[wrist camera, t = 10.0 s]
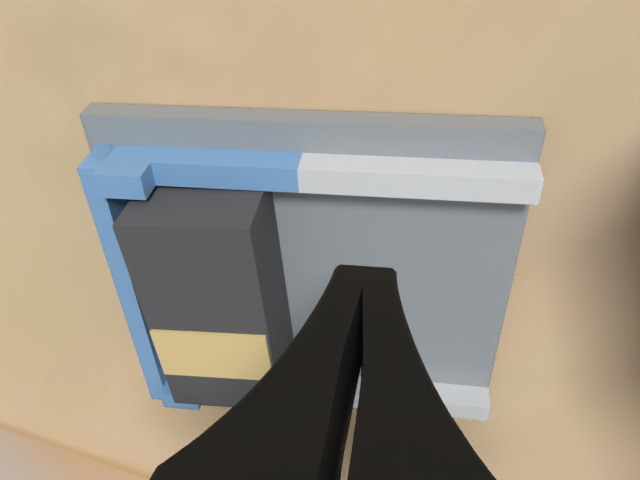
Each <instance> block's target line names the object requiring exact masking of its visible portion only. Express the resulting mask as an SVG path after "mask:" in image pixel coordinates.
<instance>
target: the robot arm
mask: <svg viewBox="0 0 640 480" xmlns="http://www.w3.org/2000/svg"><path fill="white" fill-rule="evenodd" d="M360 369H361V384H360V392H359V400H358V408H357V416H356V423H355V431H354V438H353V445H352V452H351V459H350V466H349V473H348V479H347V480H496V479H495V477H494V476H493V475H492V474H491V472H490V471H489V470H488V468H487V467H486V466H485V464H484V463H483V462H482V460H481V459H480V458H479V456H478V455H477V454H476V452H475V451H474V449H473V448H472V446H471V445H470V443H469V442H468V440H467V439H466V437H465V436H464V434H463V433H462V431H461V430H460V428H459V427H458V425H457V424H456V422H455V421H454V419H453V418H452V416H451V414H450V413H449V411H448V409H447V408H446V406H445V404H444V403H443V401H442V399H441V397H440V395H439V393H438V392H437V390H436V388H435V386H434V384H433V382H432V380H431V378H430V376H429V374H428V372H427V370H426V368H425V366H424V363H423V361H422V359H421V357H420V354H419V352H418V350H417V347H416V345H415V342H414V340H413V337H412V334H411V331H410V329H409V326H408V323H407V320H406V317H405V314H404V311H403V307H402V303H401V299H400V295H399V290H398V285H397V272H396V271H395V270H394V269H393V268H387V267H372V266H356V265H341V264H340V265H338V266H337V267H336V268H335V269H334V272H333V274H332V277H331V279H330V281H329V283H328V285H327V287H326V289H325V291H324V293H323V294H322V296H321V298H320V300H319V301H318V303H317V305H316V306H315V308H314V310H313V311H312V313H311V314H310V316H309V317H308V319H307V321H306V322H305V324H304V325H303V327H302V328H301V330H300V331H299V332H298V334H297V335H296V336H295V338H294V339H293V340H292V342H291V343H290V344H289V346H288V347H287V349H286V350H285V351H284V352H283V354H282V355H281V356H280V357H279V359H278V360H277V361H276V362H275V364H274V365H273V366H272V367H271V368H270V369H269V370H268V372H267V373H266V374H265V375H264V376H263V377H262V378H261V379H260V381H259V382H258V383H257V384H256V385H255V386H254V387H253V388H252V389H251V390H250V391H249V392H248V393H247V394H246V395H245V396H244V397H243V398H242V399H241V400H240V401H239V402H238V403H237V404H236V405H235V406H234V407H233V408H231V409H230V410H229V411H228V412H227V413H226V414H225V415H223V416H222V417H221V418H220V419H219V420H218V421H216V422H215V423H214V424H213V425H212V426H211V427H209V428H208V429H207V430H206V431H205V432H204V433H202V434H201V435H200V436H199V437H197V438H196V439H195V440H193V441H192V442H191V443H189V444H188V445H187V446H185V447H184V448H182V449H181V450H180V451H178V452H177V453H176V454H174V455H173V456H171V457H170V458H169V459H167V460H166V461H165V462H163V463H162V464H160V465H159V466H158V467H157V468H156V470H155V471H154V473H153V474H152V476H151V478H150V480H340V478H341V468H342V462H343V455H344V449H345V444H346V439H347V434H348V429H349V424H350V419H351V414H352V409H353V404H354V399H355V394H356V389H357V384H358V379H359V374H360Z"/></svg>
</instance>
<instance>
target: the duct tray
mask: <svg viewBox="0 0 640 480" xmlns="http://www.w3.org/2000/svg"><path fill="white" fill-rule="evenodd" d="M79 115H80V118H81V122H82V125H83V128H84V132H85V135H86V138H87V141H88V145H89V148H90V151H91V152H90V154H89V155H88V156H87V157H86V158H85V159H84V160H83V161H82V163H81V164H80V165H79V166H78V167H77V170H78V173H79V176H80V179H81V182H82V185H83V189H84V192H85V195H86V198H87V201H88V204H89V207H90V210H91V213H92V216H93V219H94V222H95V226H96V229H97V232H98V235H99V238H100V241H101V244H102V247H103V250H104V253H105V256H106V259H107V262H108V266H109V269H110V272H111V275H112V278H113V281H114V284H115V287H116V290H117V293H118V296H119V299H120V302H121V306H122V309H123V312H124V315H125V318H126V321H127V324H128V327H129V330H130V333H131V336H132V339H133V342H134V346H135V349H136V352H137V355H138V358H139V361H140V364H141V367H142V370H143V373H144V376H145V379H146V382H147V386H148V389H149V392H150V395H151V398H152V399H159V400H162V401H163V404H164V407H171V408H181V409H191V410H199V409H200V406H201V405H196V404H181V403H175V402H174V400H173V397H172V394H171V391H170V388H169V385H168V383H167V380H166V377H165V374H164V372H163V369H162V366H161V363H160V360H159V358H158V355H157V352H156V349H155V346H154V344H153V341H152V338H151V335H150V332H149V329H148V326H147V323H146V320H145V318H144V315H143V312H142V309H141V306H140V304H139V301H138V298H137V295H136V292H135V289H134V287H133V284H132V281H131V278H130V275H129V272H128V270H127V267H126V264H125V261H124V258H123V256H122V253H121V250H120V247H119V244H118V241H117V239H116V236H115V233H114V230H113V227H112V225H113V224H114V222H115V221H116V220H117V218H118V217H119V215H120V214H121V212H122V211H123V209H124V208H125V207H126V205H127V204H128V202H129V201H130V199H131V200H147V198H148V197H149V195H150V194H151V192H152V191H153V189H154V188H155V186H173V187H193V188H212V189H232V190H252V191H272V193H273V200H274V206H275V213H276V220H277V227H278V234H279V241H280V248H281V255H282V262H283V269H284V275H285V282H286V289H287V296H288V303H289V310H290V317H291V324H292V331H293V338H295V336H296V335H297V334H298V332H299V331H300V330H301V328H302V327H303V325H304V324H305V322H306V321H307V319H308V317H309V316H310V314H311V313H312V311H313V310H314V308H315V306H316V305H317V303H318V301H319V300H320V298H321V296H322V294H323V293H324V291H325V289H326V287H327V285H328V283H329V281H330V279H331V277H332V274H333V272H334V269H335V268H336V267H337V266H338V265H340V264H341V265H356V266H372V267H387V268H393V269H394V270H395V271H396V272H397V285H398V290H399V295H400V299H401V303H402V307H403V311H404V314H405V317H406V320H407V323H408V326H409V329H410V331H411V334H412V337H413V340H414V342H415V345H416V347H417V350H418V352H419V354H420V357H421V359H422V361H423V363H424V366H425V368H426V370H427V372H428V374H429V376H430V378H431V380H432V382H433V384H434V386H435V388H436V390H437V392H438V393H439V395H440V397H441V399H442V401H443V403H444V404H445V406H446V408H447V409H448V411H449V413H450V414H451V416H452V418H461V419H472V420H482V421H488V417H489V413H490V409H491V407H490V397H489V388H488V387H489V383H490V378H491V374H492V370H493V365H494V361H495V356H496V352H497V347H498V343H499V338H500V334H501V329H502V325H503V320H504V316H505V312H506V307H507V303H508V298H509V294H510V289H511V285H512V280H513V276H514V271H515V267H516V263H517V258H518V254H519V249H520V245H521V240H522V236H523V231H524V227H525V222H526V218H527V213H528V209H529V205H539V201H540V196H541V192H542V188H543V184H544V178H543V175H542V171H541V168H540V165H539V160H540V155H541V151H542V147H543V142H544V138H545V133H546V129H545V126H544V124H543V121H542V118H535V117H504V116H474V115H443V114H413V113H382V112H351V111H321V110H290V109H259V108H229V107H198V106H167V105H137V104H106V103H90V104H89V105H88V106H87V107H86V108H85V109H84V110H83V111H82V112H81V113H80V114H79ZM360 384H361V369H360V374H359V379H358V384H357V389H356V394H355V399H354V404H353V408H358V400H359V392H360Z"/></svg>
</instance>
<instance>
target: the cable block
mask: <svg viewBox="0 0 640 480" xmlns="http://www.w3.org/2000/svg"><path fill="white" fill-rule="evenodd" d="M112 227H113V230H114V233H115V236H116V239H117V241H118V244H119V247H120V250H121V253H122V256H123V258H124V261H125V264H126V267H127V270H128V272H129V275H130V278H131V281H132V284H133V287H134V289H135V292H136V295H137V298H138V301H139V304H140V306H141V309H142V312H143V315H144V318H145V320H146V323H147V326H148V329H149V332H150V335H151V338H152V341H153V344H154V346H155V349H156V352H157V355H158V358H159V360H160V363H161V366H162V369H163V372H164V374H165V377H166V380H167V383H168V385H169V388H170V391H171V394H172V397H173V400H174V402H175V403H181V404H196V405H210V406H224V407H234V406H235V405H236V404H237V403H238V402H239V401H240V400H241V399H242V398H243V397H244V396H245V395H246V394H247V393H248V392H249V391H250V390H251V389H252V388H253V387H254V386H255V385H256V384H257V383H258V382H259V381H260V379H261V378H262V377H263V376H264V375H265V374H266V373H267V372H268V370H269V369H270V368H271V367H272V366H273V365H274V364H275V362H276V361H277V360H278V359H279V357H280V356H281V355H282V354H283V352H284V351H285V350H286V349H287V347H288V346H289V344H290V343H291V342H292V340H293V339H294V338H293V331H292V324H291V317H290V310H289V303H288V296H287V289H286V282H285V275H284V269H283V262H282V255H281V248H280V241H279V234H278V227H277V220H276V213H275V206H274V200H273V193H272V191H252V190H232V189H212V188H193V187H173V186H155V188H154V189H153V191H152V192H151V194H150V195H149V197H148V198H147V200H131V199H130V201H129V202H128V204H127V205H126V207H125V208H124V209H123V211H122V212H121V214H120V215H119V217H118V218H117V220H116V221H115V222H114V224H113V225H112Z"/></svg>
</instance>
